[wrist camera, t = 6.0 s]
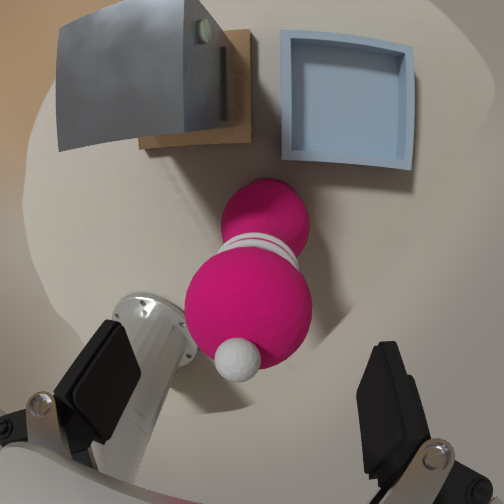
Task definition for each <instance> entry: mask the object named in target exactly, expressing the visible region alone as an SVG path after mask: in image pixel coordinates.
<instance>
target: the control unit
mask: <svg viewBox="0 0 504 504" xmlns="http://www.w3.org/2000/svg"><path fill="white" fill-rule="evenodd" d="M56 121H57V137H58V148H59V152H61V151H66V150H70V149H75V148H80V147H85V146H90V145H95V144H100V143H106V142H112V141H118V140H124V139H131V138H138V141H139V150H141V149H150V148H161V147H172V146H186V145H202V144H228V143H252V74H251V31H250V29H243V30H229V31H223V30H222V29H221V28H220V26H219V25H218V24H217V23H216V21H215V20H214V19H213V17H212V16H211V15H210V14H209V12H208V11H207V10H206V9H205V7H204V6H203V5H202V4H201V2H200V1H199V0H125V1H122V2H119V3H116V4H114V5H111V6H108V7H105V8H103V9H100V10H98V11H95V12H93V13H91V14H89V15H86V16H84V17H82V18H79V19H77V20H75V21H73V22H71V23H69V24H67V25H65V26H63V27H61V28H60V29H59V38H58V48H57V63H56Z"/></svg>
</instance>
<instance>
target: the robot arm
mask: <svg viewBox="0 0 504 504" xmlns="http://www.w3.org/2000/svg"><path fill="white" fill-rule="evenodd" d="M197 350H198V346H197V344H196V343H195V342H194V340H193V339H192V337H191V335H190V333H189V331H188V328H187V325H186V320H185V314H184V313H183V312H182V311H181V310H180V309H178V308H177V307H176V306H174V305H173V304H171V303H170V302H168V301H166V300H164V299H162V298H159V297H156V296H153V295H148V294H133V295H129V296H127V297H125V298H123V299H122V300H121V301H120V302H119V303H118V304H117V306H116V307H115V308H114V311H113V314H112V320H108V319H107V320H105V321H104V322H103V323H102V325H101V326H100V327H99V328H98V330H97V331H96V332H95V334H94V335H93V336H92V338H91V339H90V340H89V342H88V343H87V344H86V346H85V347H84V349H83V350H82V351H81V353H80V354H79V355H78V357H77V358H76V360H75V361H74V363H73V364H72V365H71V367H70V368H69V369H68V371H67V372H66V374H65V375H64V377H63V378H62V380H61V381H60V383H59V384H58V385H57V387H56V388H55V390H54V393H55V394H54V395H53V396H52V395H51V394H50V393H48V392H45V391H42V392H37V393H35V394H34V395H33V396H31V397H30V398H29V400H28V402H27V404H26V409H23V410H20V411H17V412H13V413H10V414H6V413H5V412H4V411H3V410H1V409H0V504H201V503H197V502H192V501H188V500H183V499H179V498H175V497H171V496H168V495H164V494H161V493H157V492H154V491H151V490H147V489H144V488H141V487H138V486H135V485H134V483H135V479H136V475H137V472H138V469H139V466H140V463H141V460H142V458H143V455H144V452H145V449H146V447H147V444H148V442H149V439H150V437H151V434H152V432H153V429H154V427H155V424H156V421H157V419H158V416H159V414H160V411H161V409H162V406H163V404H164V401H165V399H166V396H167V394H168V391H169V389H170V388H171V387H172V386H173V382H172V381H173V379H174V376H175V374H176V371H177V369H178V367H182V366H185V365H187V364H188V363H190V362H191V361H192V360H193V359H194V357H195V355H196V353H197ZM356 399H357V406H358V414H359V423H360V431H361V441H362V451H363V463H364V472H365V473H366V474H369V480H370V479H378V487H379V489H378V490H377V491H376V492H375V494H374V495H373V496H372V498H371V499H370V500H369V501H368V502H367V504H503V503H502V501H501V500H500V499H499V498H498V497H497V496H496V497H493V496H492V493H493V487H492V483H491V482H490V480H489V479H487V478H486V477H485V476H483V475H481V474H479V473H477V472H475V471H473V470H472V469H470V468H468V467H466V466H464V465H463V464H461V463H459V462H458V461H456V460H455V452H454V449H453V447H452V446H451V444H450V443H449V442H447V441H446V440H443V439H440V438H434V439H431V436H430V433H429V429H428V425H427V421H426V418H425V414H424V410H423V407H422V403H421V400H420V396H419V393H418V390H417V387H416V384H415V380H414V378H413V377H412V376H411V375H407V373H406V370H405V367H404V364H403V361H402V358H401V355H400V352H399V349H398V346H397V343H396V342H395V341H385V342H379V344H378V346H374V348H373V350H372V353H371V356H370V358H369V361H368V364H367V366H366V369H365V372H364V374H363V377H362V379H361V382H360V384H359V387H358V389H357V395H356Z"/></svg>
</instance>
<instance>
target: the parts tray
mask: <svg viewBox="0 0 504 504" xmlns="http://www.w3.org/2000/svg"><path fill="white" fill-rule="evenodd" d="M280 36H281V88H282V160H297V161H318V162H334V163H347V164H359V165H369V166H379V167H388V168H396V169H404V170H411V166H412V154H413V139H414V115H415V83H414V60H413V47H410V46H406V45H402V44H397V43H393V42H388V41H384V40H379V39H373V38H368V37H361V36H355V35H348V34H340V33H331V32H320V31H304V30H280Z"/></svg>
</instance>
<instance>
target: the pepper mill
mask: <svg viewBox="0 0 504 504" xmlns="http://www.w3.org/2000/svg"><path fill="white" fill-rule="evenodd" d="M221 232H222V238H223V242H224V244H223V245H222V246H221V248H220V249H219V250H218V252H217V254H216V255H215V256H213V257H211V258H210V259H209V260H208V261H206V262H205V263H204V264H203V265H202V266H201V267H200V269H199V270H198V271H197V272H196V274H195V275H194V276H193V278H192V280H191V283H190V285H189V287H188V290H187V293H186V299H185V310H184V312H185V320H186V325H187V328H188V331H189V333H190V335H191V337H192V339H193V340H194V342H195V343H196V344H197V346H198V347H199V348H200V349H201V350H202V351H203V352H204V353H205V354H206V355H207V356H209V357H210V358H212V359H213V360H215V366H216V368H217V371H218V372H219V373H220V374H221V375H222V376H223V377H224V378H225V379H227V380H229V381H233V382H243V381H246V380H249V379H251V378H252V377H253V376H254V375H255V374H256V373H257V372H258V370H259V369H266V368H269V367H272V366H275V365H277V364H279V363H281V362H282V361H284V360H286V359H287V358H288V357H289V356H291V355H292V354H293V353H294V352H295V351H296V350H297V349H298V348H299V347H300V345H301V344H302V343H303V341H304V339H305V337H306V335H307V333H308V330H309V327H310V323H311V319H312V300H311V295H310V291H309V288H308V285H307V283H306V281H305V279H304V277H303V275H302V274H301V273H300V270H299V264H298V261H297V259H296V258H297V256H298V255H299V254H300V253H301V251H302V250H303V248H304V246H305V244H306V242H307V239H308V235H309V216H308V212H307V209H306V207H305V205H304V203H303V201H302V200H301V199H300V198H299V196H298V195H297V194H296V192H295V191H294V190H293V189H292V188H291V187H290V186H289V185H288V184H286V183H284V182H282V181H280V180H277V179H271V178H265V179H259V180H256V181H254V182H252V183H250V184H249V185H247V186H245V187H243V188H241V189H240V190H239V191H237V192H236V193H235V194H234V195H233V196H232V197H231V199H230V200H229V202H228V203H227V205H226V208H225V210H224V213H223V216H222V221H221Z"/></svg>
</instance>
